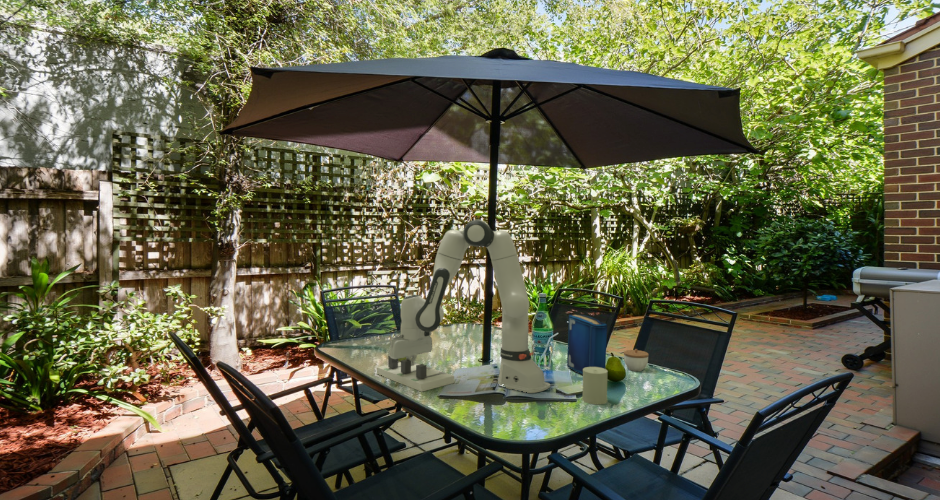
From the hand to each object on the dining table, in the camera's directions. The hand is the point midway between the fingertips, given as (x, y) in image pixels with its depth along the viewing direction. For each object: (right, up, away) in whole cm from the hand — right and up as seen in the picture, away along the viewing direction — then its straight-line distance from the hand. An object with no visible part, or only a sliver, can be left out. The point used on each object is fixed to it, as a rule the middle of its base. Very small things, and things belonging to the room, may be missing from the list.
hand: (411, 365), depth 217 cm
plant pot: (-8, -4, +31) cm, 32 cm away
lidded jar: (+101, -6, +17) cm, 103 cm away
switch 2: (+5, -3, -9) cm, 11 cm away
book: (+77, -6, +10) cm, 77 cm away
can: (+72, -8, -25) cm, 76 cm away
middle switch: (-2, -2, -2) cm, 4 cm away
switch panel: (+1, -6, +1) cm, 6 cm away
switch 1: (-8, -2, +6) cm, 10 cm away
